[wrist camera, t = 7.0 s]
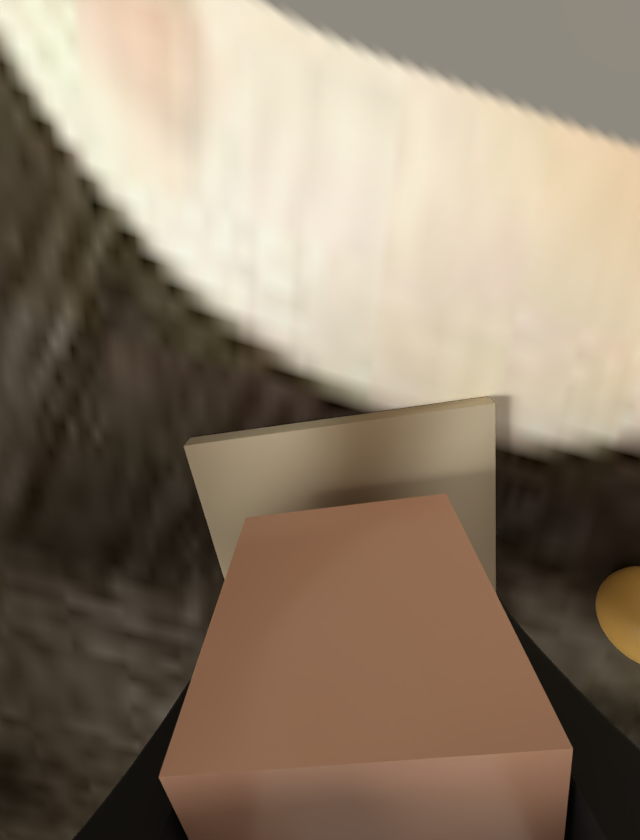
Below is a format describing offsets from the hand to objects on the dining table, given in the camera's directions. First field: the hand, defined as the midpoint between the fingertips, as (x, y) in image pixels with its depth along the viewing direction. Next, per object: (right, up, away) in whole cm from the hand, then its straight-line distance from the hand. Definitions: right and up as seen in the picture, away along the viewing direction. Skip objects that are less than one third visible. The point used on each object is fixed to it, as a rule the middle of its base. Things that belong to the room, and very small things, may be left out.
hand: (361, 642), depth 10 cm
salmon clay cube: (0, +1, +2) cm, 2 cm away
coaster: (0, +1, +4) cm, 4 cm away
